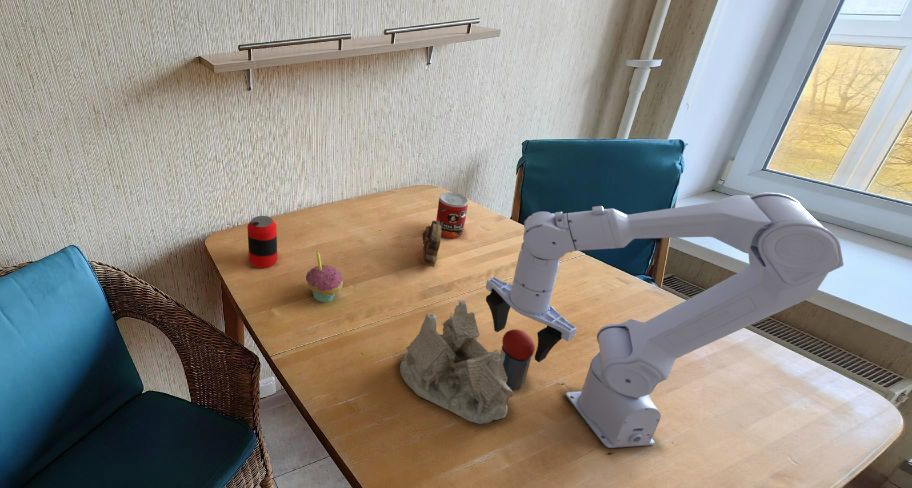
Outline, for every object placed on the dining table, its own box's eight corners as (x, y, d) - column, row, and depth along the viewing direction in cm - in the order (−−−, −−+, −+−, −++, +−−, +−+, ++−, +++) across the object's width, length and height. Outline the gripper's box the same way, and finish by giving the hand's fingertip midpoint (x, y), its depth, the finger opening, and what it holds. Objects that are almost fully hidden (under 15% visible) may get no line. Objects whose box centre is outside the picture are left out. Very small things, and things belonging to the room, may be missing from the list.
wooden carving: (417, 240, 121) (421, 209, 118) (434, 242, 120) (438, 211, 117) (421, 276, 106) (425, 242, 103) (440, 279, 105) (445, 244, 102)
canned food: (435, 237, 122) (440, 203, 118) (434, 223, 130) (438, 190, 126) (464, 241, 120) (470, 206, 116) (461, 226, 127) (466, 193, 123)
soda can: (243, 258, 115) (241, 220, 111) (266, 248, 119) (264, 210, 115) (260, 272, 109) (258, 232, 105) (282, 261, 114) (282, 222, 109)
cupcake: (300, 300, 99) (300, 257, 95) (314, 279, 106) (315, 238, 102) (335, 312, 95) (337, 268, 91) (347, 289, 102) (349, 247, 98)
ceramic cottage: (391, 353, 84) (403, 295, 78) (470, 347, 86) (487, 291, 80) (424, 433, 70) (441, 371, 64) (517, 425, 72) (543, 364, 66)
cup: (529, 388, 77) (537, 361, 74) (505, 389, 77) (511, 362, 74) (514, 366, 81) (521, 340, 79) (491, 368, 81) (497, 342, 79)
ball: (537, 360, 76) (544, 338, 74) (519, 370, 74) (525, 348, 72) (511, 340, 80) (517, 319, 78) (493, 350, 78) (499, 328, 76)
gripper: (594, 298, 67) (574, 363, 72) (508, 251, 79) (496, 310, 84) (568, 314, 64) (549, 381, 68) (483, 263, 76) (472, 323, 80)
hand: (518, 343), depth 76 cm, fingers open, 7 cm apart
